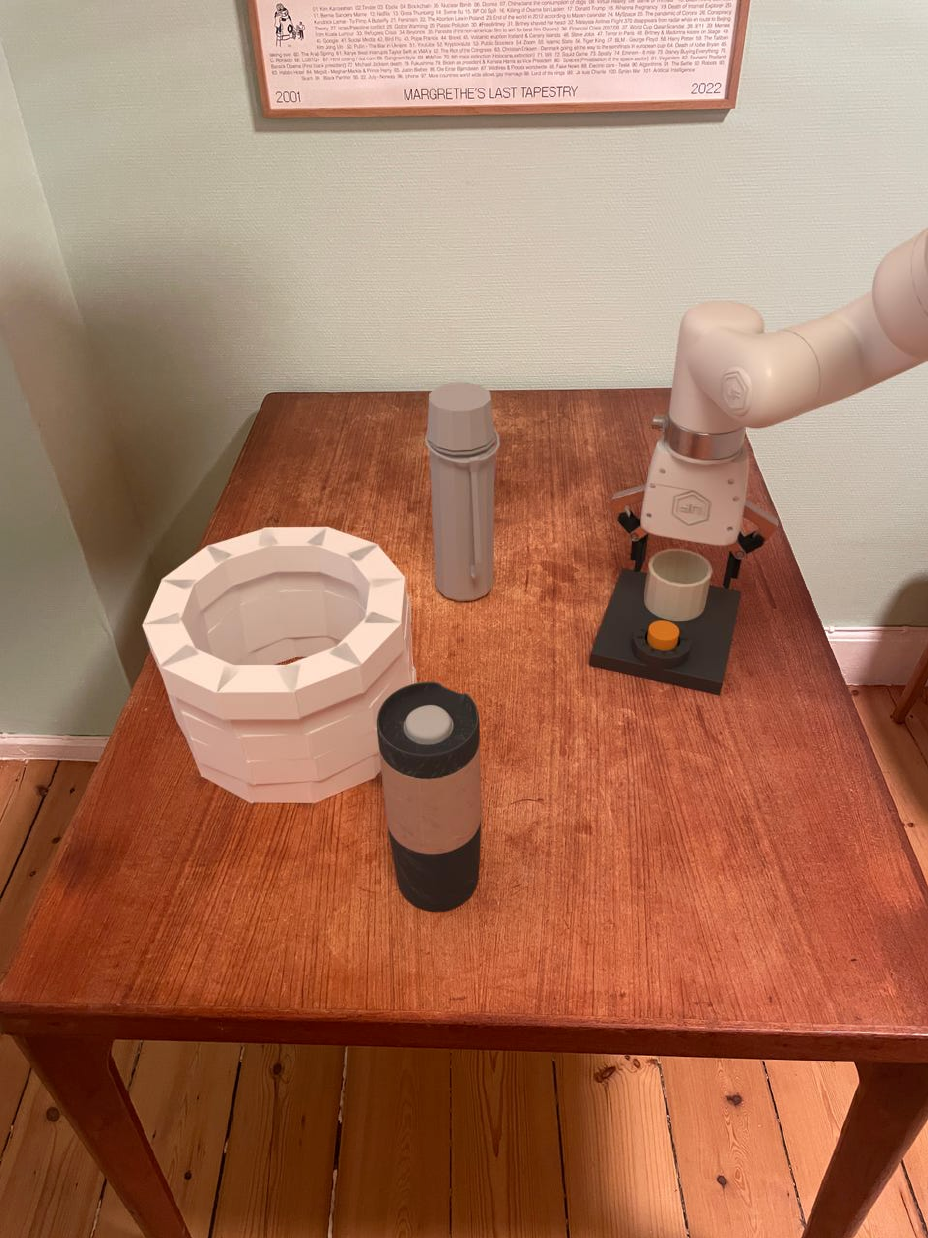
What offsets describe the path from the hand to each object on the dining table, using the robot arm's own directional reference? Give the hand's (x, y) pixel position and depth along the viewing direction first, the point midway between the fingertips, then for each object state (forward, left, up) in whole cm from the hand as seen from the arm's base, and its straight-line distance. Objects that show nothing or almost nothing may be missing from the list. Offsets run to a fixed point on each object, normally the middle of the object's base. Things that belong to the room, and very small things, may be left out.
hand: (682, 573), depth 99 cm
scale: (0, +3, -6) cm, 7 cm away
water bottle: (+24, +3, -7) cm, 25 cm away
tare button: (0, +8, -3) cm, 9 cm away
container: (+33, +28, -7) cm, 44 cm away
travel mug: (+13, +41, -7) cm, 44 cm away
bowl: (0, 0, -5) cm, 5 cm away
